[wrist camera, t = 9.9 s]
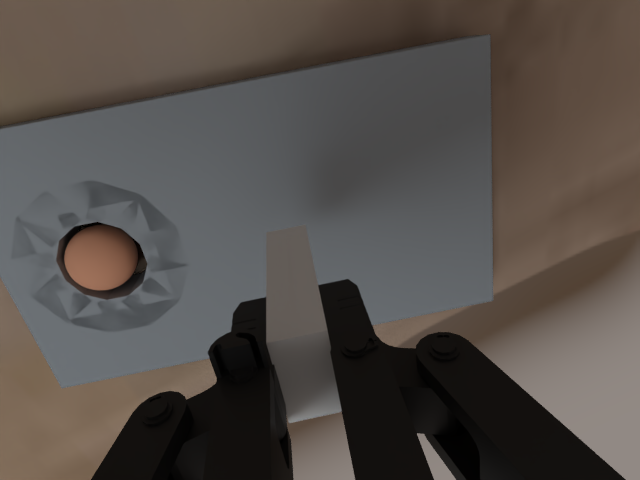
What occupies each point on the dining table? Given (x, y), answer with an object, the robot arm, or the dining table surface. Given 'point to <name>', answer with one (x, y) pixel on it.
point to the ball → (101, 257)
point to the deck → (253, 201)
